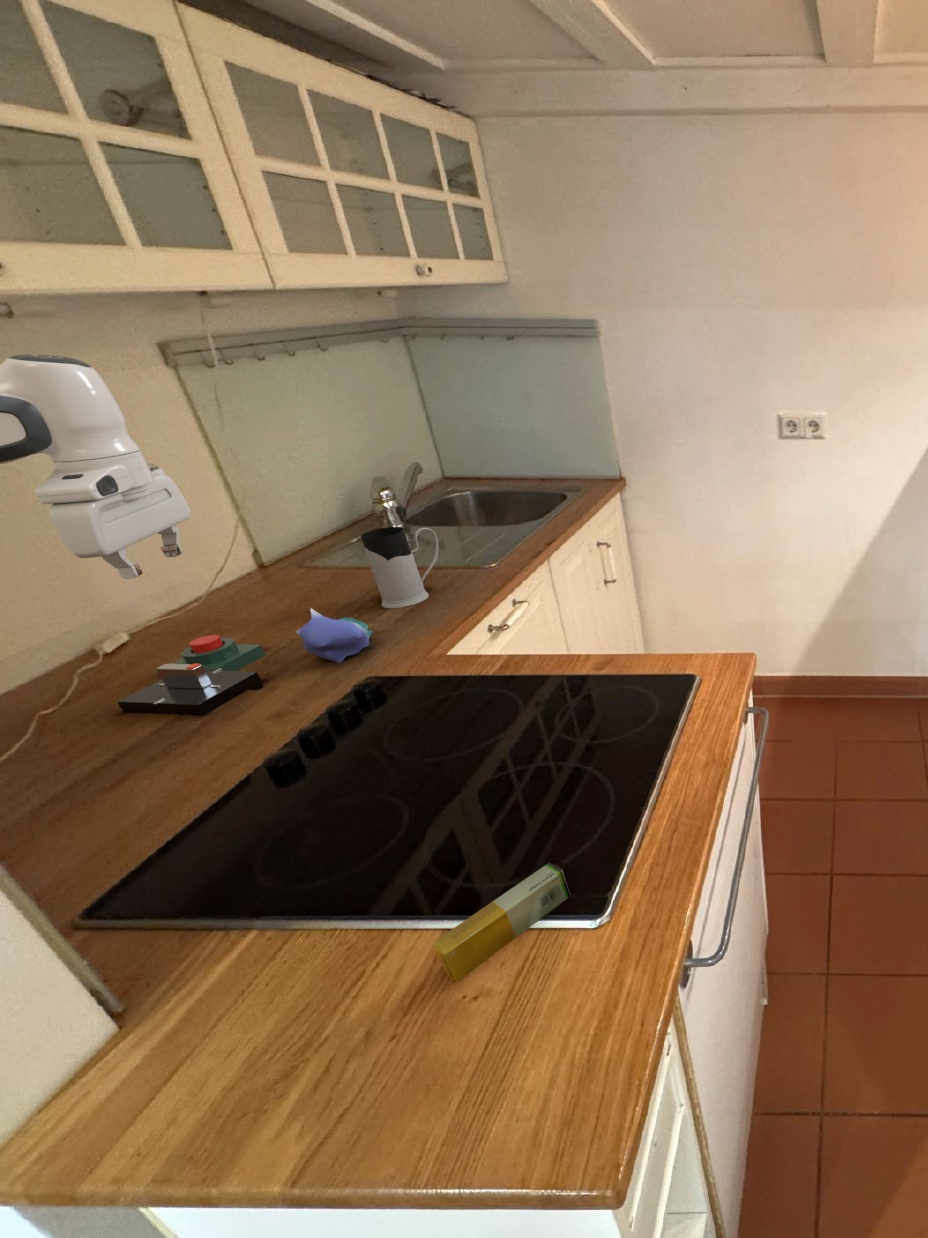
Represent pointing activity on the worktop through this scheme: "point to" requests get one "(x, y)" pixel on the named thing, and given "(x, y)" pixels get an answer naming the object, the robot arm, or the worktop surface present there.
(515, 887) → the medication box
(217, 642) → the button
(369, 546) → the glass holder
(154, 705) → the base
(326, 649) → the figurine
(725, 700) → the worktop surface
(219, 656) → the green control housing
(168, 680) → the grey switch lever
